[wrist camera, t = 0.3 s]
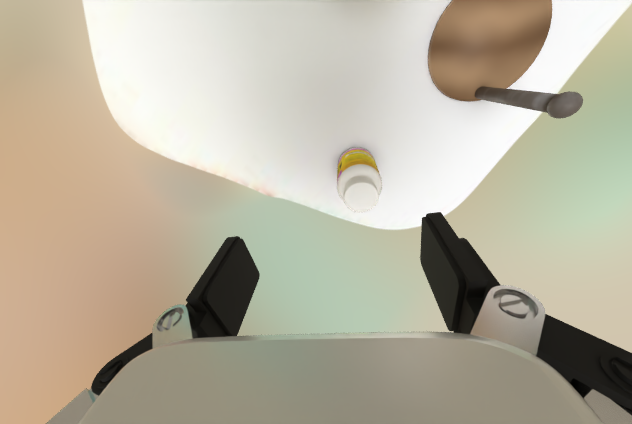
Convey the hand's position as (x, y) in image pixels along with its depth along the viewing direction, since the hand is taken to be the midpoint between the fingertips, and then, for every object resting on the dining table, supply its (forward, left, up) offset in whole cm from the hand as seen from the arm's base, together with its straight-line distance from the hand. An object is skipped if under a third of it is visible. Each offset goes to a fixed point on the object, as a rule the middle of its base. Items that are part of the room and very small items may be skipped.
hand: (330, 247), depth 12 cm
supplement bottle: (+7, +2, -31) cm, 32 cm away
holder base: (-7, +21, -31) cm, 38 cm away
